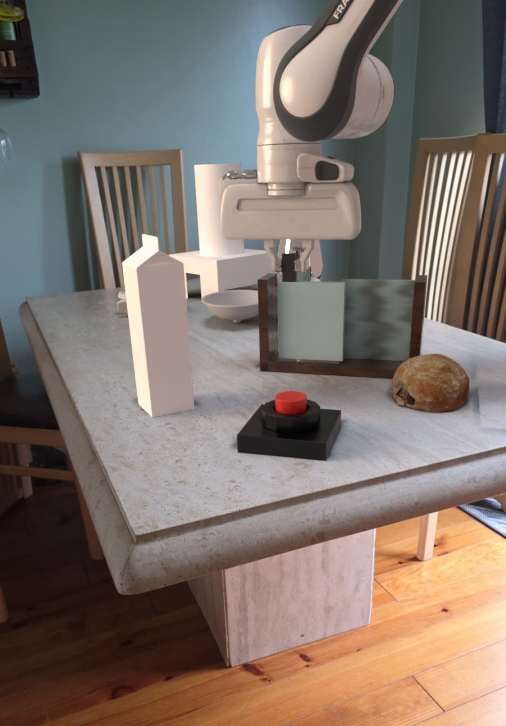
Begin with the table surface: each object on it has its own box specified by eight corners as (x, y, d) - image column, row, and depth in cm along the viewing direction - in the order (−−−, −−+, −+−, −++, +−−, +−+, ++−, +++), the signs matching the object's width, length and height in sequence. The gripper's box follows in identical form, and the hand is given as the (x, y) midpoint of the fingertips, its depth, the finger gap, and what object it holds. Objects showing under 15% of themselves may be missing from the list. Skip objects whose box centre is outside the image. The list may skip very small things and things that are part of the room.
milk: (179, 397, 87) (165, 231, 78) (195, 410, 82) (183, 235, 74) (137, 404, 85) (118, 235, 76) (151, 418, 80) (133, 238, 71)
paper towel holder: (219, 304, 146) (211, 163, 133) (172, 295, 158) (161, 166, 146) (276, 292, 157) (274, 162, 144) (228, 285, 170) (222, 164, 157)
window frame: (419, 368, 96) (427, 275, 90) (417, 380, 91) (425, 282, 85) (269, 360, 102) (268, 273, 97) (259, 371, 97) (257, 279, 91)
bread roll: (383, 421, 86) (370, 376, 81) (424, 375, 90) (414, 330, 85) (446, 440, 79) (436, 394, 74) (487, 390, 83) (481, 342, 78)
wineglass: (268, 347, 109) (265, 227, 101) (297, 338, 114) (297, 223, 106) (302, 355, 104) (302, 229, 96) (331, 345, 109) (333, 225, 101)
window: (343, 359, 95) (346, 253, 88) (342, 361, 94) (345, 253, 88) (280, 356, 98) (278, 252, 91) (278, 358, 97) (277, 253, 90)
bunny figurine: (118, 303, 130) (112, 283, 143) (120, 326, 133) (115, 305, 145) (162, 299, 133) (153, 280, 145) (164, 322, 135) (155, 301, 148)
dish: (205, 313, 137) (203, 290, 135) (270, 311, 137) (270, 288, 135) (200, 333, 121) (198, 307, 119) (274, 330, 121) (273, 304, 119)
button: (309, 406, 72) (309, 391, 71) (303, 417, 69) (303, 402, 68) (279, 404, 73) (279, 389, 72) (271, 414, 70) (271, 400, 69)
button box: (340, 426, 75) (341, 395, 74) (325, 461, 67) (326, 427, 65) (261, 420, 78) (261, 390, 77) (237, 453, 70) (235, 419, 68)
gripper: (210, 171, 86) (215, 273, 91) (359, 166, 80) (354, 276, 86) (225, 170, 91) (229, 267, 97) (365, 166, 86) (361, 269, 91)
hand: (289, 271), depth 91 cm, fingers closed on window, 2 cm apart
